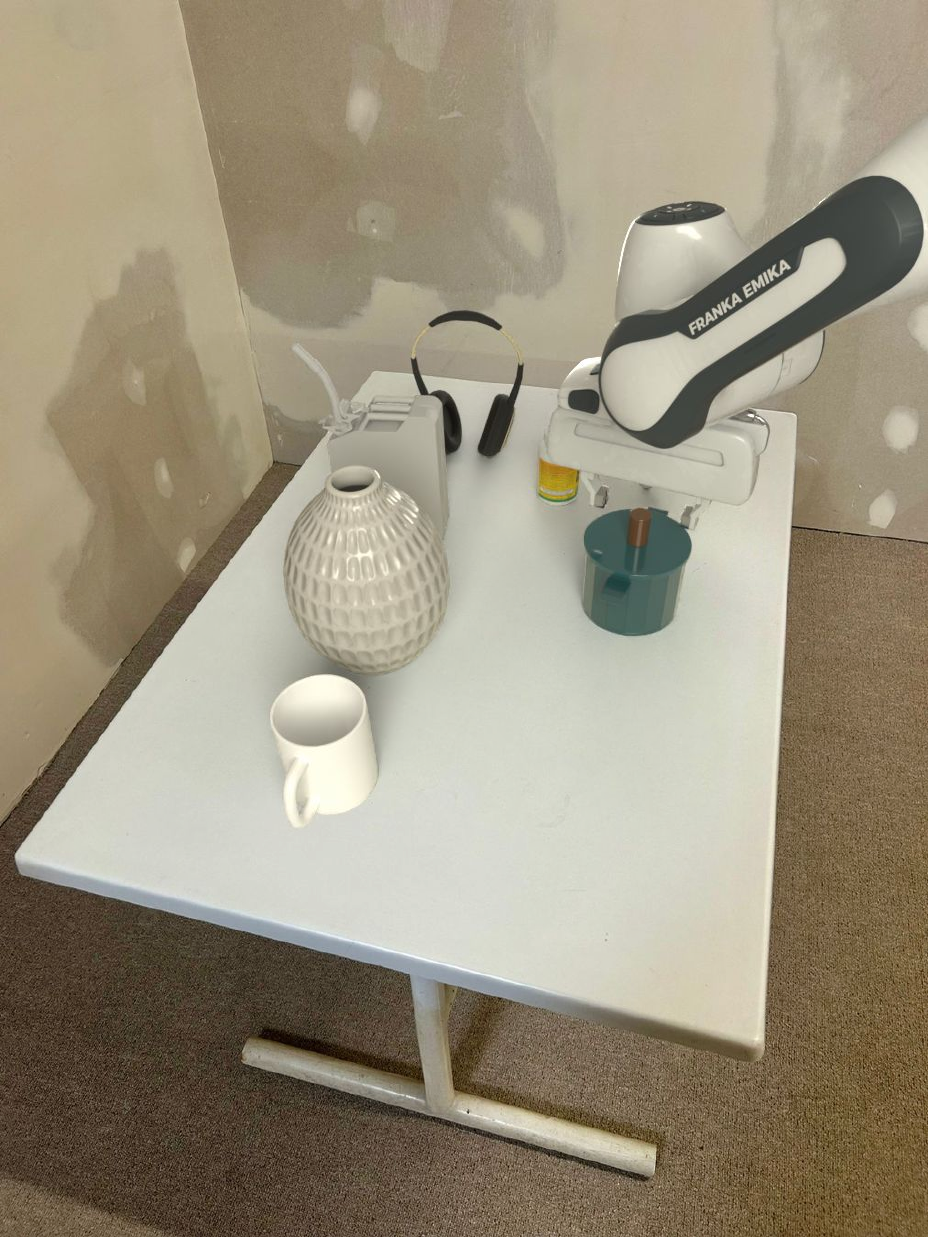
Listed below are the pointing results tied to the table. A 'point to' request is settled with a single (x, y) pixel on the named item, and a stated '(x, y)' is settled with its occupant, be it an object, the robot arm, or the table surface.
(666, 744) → the table surface
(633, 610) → the cooking pot
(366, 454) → the fuel canister
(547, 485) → the supplement bottle
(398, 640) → the vase
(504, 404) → the headphones
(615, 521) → the lid
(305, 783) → the cup
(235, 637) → the table surface
